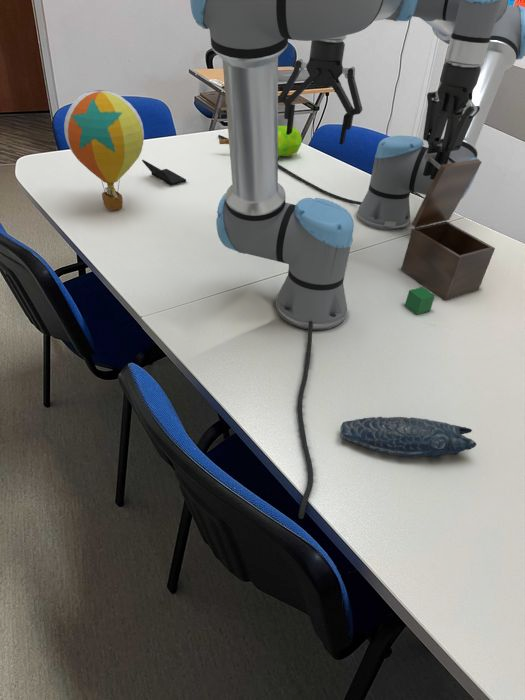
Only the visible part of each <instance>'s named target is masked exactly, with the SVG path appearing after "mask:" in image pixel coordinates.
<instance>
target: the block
mask: <svg viewBox="0 0 525 700" xmlns="http://www.w3.org/2000/svg"><path fill="white" fill-rule="evenodd" d="M435 297H436V294H434V293H433V292H432V291H430V290H429V289H428V288H426V287H425V286H420V287H416V288H413V289H409V290H408V292H407V296H406V299H405V302H404V306H405V307H406V308H407V309H409V310H410V311H411V312H412V313H414V314H415V315H416V316H417V315H421V314H424V313H428V312H430V311H431V310H432V306H433V304H434V301H435Z"/></svg>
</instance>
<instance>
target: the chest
mask: <svg viewBox="0 0 525 700" xmlns="http://www.w3.org/2000/svg"><path fill="white" fill-rule="evenodd" d="M406 246H407V247H406V250H405V254H404V258H403V261H402V264H401V267H400V268H401V269H400V270H401V271H402V272H403V273H405V274H406V275H407V276H409V277H411V278H412V279H414V281H416V282H418V283H419V284H420V285H422V286H423V287H424V288H426V289H427V290H428V291H430V292H431V293H433V294H434V295H436V296H438V297H439V298H441V299H442V300H444V301H447V300H451V299H454V298H457V297H460V296H463V295H466V294H470V293H473V292H476V291H478V290H480V288H481V285H482V283H483V280H484V278H485V275H486V274H487V273H486V272H487V270H488V267H489V265H490V263H491V260H492V258H493V255H494V252H495V249H496V248H495V247H494V246H492V245H490V244H489V243H487V242H485V241H483V240H482V239H479V238H478V237H476V236H474V235H473V234H471V233H470V232H469V233H468V232H467V231H465V230H463V229H461V228H460V227H459V226H456V225H454V224H452V223H451V222H449V221H448V220H447V221H442V222H438V223H433V224H429V225H424V226H420V227H415V228H414V227H413V228H412V229H411V232H410V235H409V240H408V243H407V245H406Z"/></svg>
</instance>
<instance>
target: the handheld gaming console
mask: <svg viewBox="0 0 525 700" xmlns="http://www.w3.org/2000/svg"><path fill="white" fill-rule="evenodd" d="M141 161H142V163H143V164H144V165H145V167H147V169H148V170H149V171H150V172H151V174H150V175H151V176H153V177H155V178H156V179H158V180H160V181H162V182H163V183H165V184H167V185H168V186H170V187H172V186H177V185H180V184H184V183H185V184H186V183H187V179H186V178H184V177H183V176H181V175H179V174H177V173H175V172H173V171H172V170H170V169H168V168H164V169H161V168H159V167H157V166H155V165H153V164H151V163H150V162H148V161H146V160H145V159H142V160H141Z"/></svg>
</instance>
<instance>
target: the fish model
mask: <svg viewBox="0 0 525 700" xmlns="http://www.w3.org/2000/svg"><path fill="white" fill-rule="evenodd" d="M472 431H473V429H471V428H470V427H466V426H460V425H456V424H450V423H448V422H443V421H437V420H431V419H427V418H421V417H420V418H419V417H405V416H392V417H387V416H386V417H385V416H377V417H375V416H373V417H372V416H371V417H363V418H358V419H353V420H347V421H343V422H342V423H341V425H340V432H341V434H340V439H343V440H347V441H349V442H353V443H354V444H355V445H359V446H361V447H363V448H367V449H370V450H371V451H375V452H380V453H383V454H385V453H387V454H389V455H391V456H399V457H407V458H413V457H423V456H427V457H430V458H439V457H440V456H441V455H445V454H451V455H454V456H457V455H459V454H460V453H461V452H464V451H468V450H472V449H474V448H475V447H476V446H477V443H476V441H474V440H473V439H472V438H469V437H467V436H465V435H464V434H470V433H471V432H472Z"/></svg>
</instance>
